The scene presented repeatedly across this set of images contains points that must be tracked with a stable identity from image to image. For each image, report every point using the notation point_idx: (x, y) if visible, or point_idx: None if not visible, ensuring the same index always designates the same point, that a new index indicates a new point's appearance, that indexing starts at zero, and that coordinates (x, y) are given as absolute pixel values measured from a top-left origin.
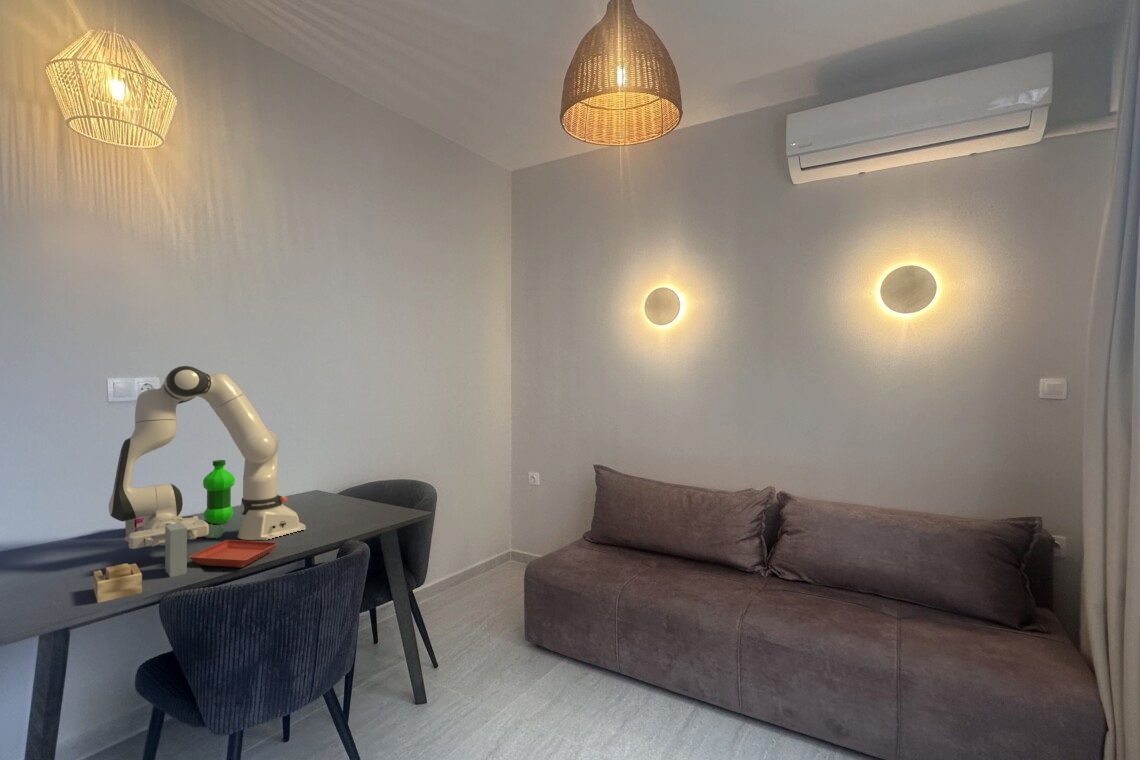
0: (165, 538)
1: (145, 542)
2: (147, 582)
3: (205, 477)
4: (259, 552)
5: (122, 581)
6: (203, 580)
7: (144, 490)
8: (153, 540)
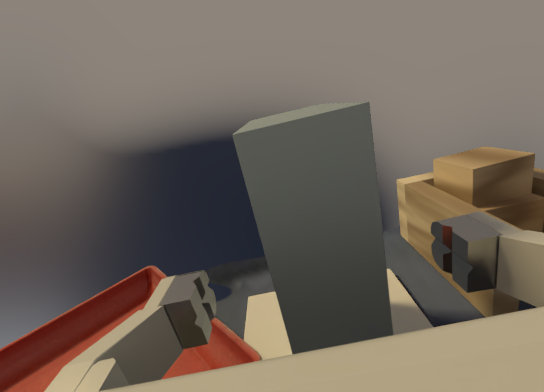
0: (377, 222)
1: None
2: (441, 323)
3: None
4: (63, 313)
5: None
6: (263, 272)
7: None
8: (475, 217)
